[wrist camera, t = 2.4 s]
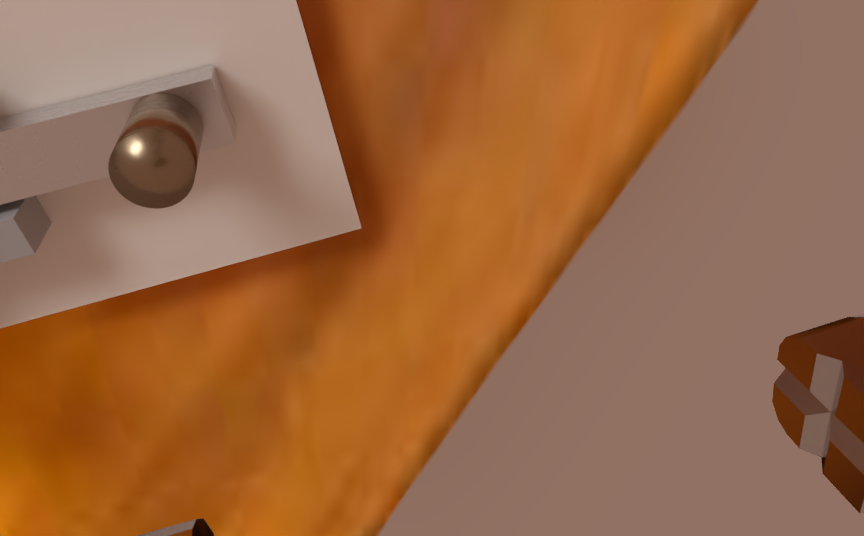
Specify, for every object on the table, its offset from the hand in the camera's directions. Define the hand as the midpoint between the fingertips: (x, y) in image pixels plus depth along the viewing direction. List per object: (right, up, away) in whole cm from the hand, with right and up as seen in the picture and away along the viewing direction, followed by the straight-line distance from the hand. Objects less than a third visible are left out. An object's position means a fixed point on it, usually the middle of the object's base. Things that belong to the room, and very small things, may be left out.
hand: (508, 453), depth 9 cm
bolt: (-14, +8, +16) cm, 22 cm away
